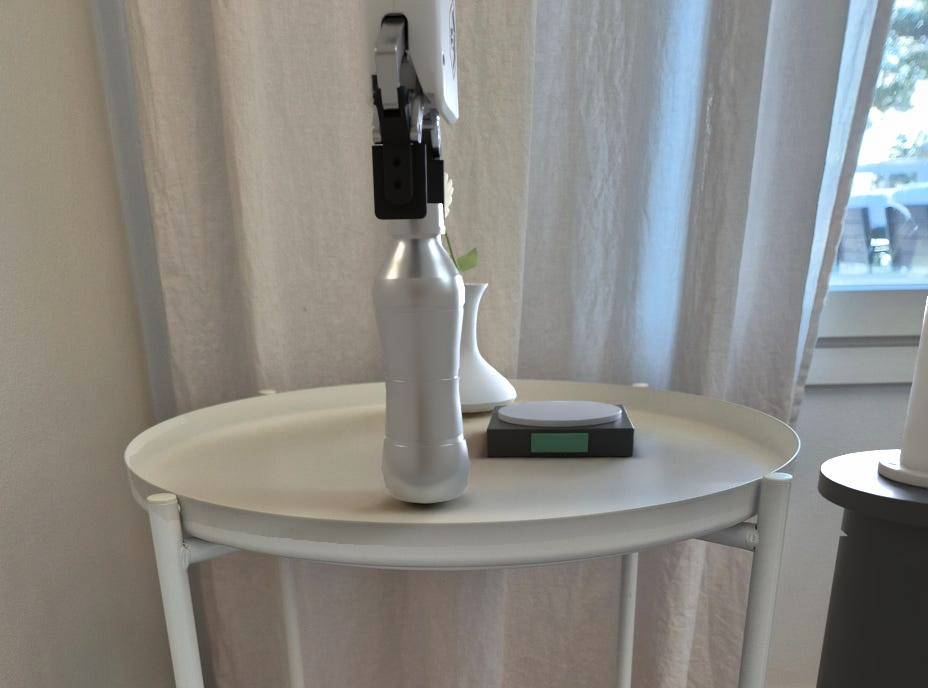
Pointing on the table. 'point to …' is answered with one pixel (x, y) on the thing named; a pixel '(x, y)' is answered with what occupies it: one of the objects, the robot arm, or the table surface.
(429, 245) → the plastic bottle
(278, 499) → the table surface
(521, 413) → the scale
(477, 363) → the flower in vase
